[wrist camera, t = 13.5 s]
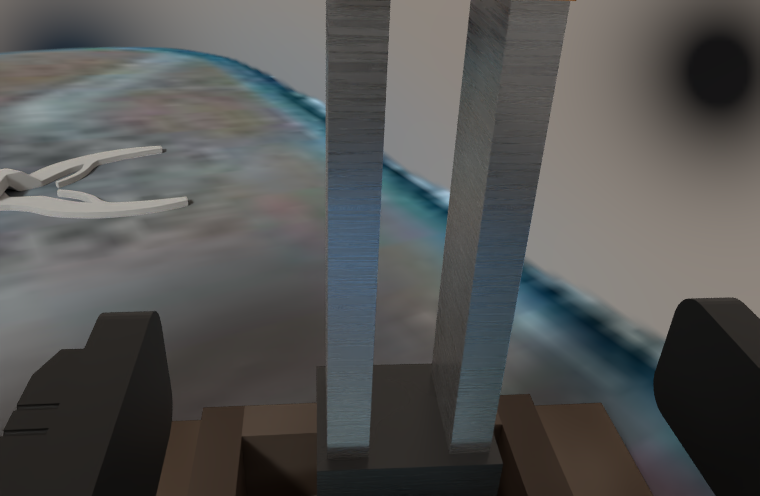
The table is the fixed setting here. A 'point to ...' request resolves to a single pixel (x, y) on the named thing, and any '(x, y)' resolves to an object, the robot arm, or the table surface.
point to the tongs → (460, 261)
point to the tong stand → (299, 452)
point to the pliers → (71, 209)
